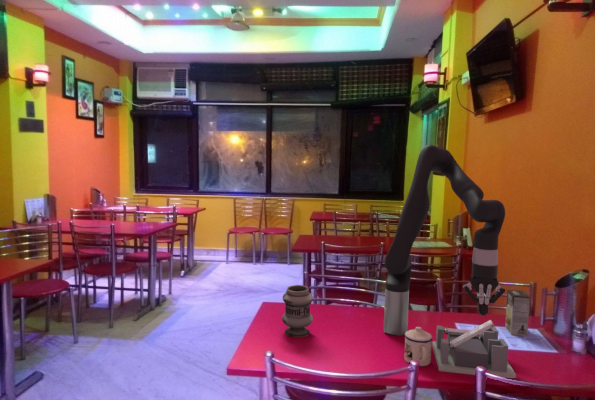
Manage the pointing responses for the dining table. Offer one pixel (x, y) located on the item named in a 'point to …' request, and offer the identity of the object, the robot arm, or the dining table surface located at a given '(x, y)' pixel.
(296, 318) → the apothecary jar
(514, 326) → the coffee box
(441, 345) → the base
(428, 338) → the teacup with lid
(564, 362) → the dining table surface
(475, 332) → the strap
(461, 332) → the grey hinged latch bar
